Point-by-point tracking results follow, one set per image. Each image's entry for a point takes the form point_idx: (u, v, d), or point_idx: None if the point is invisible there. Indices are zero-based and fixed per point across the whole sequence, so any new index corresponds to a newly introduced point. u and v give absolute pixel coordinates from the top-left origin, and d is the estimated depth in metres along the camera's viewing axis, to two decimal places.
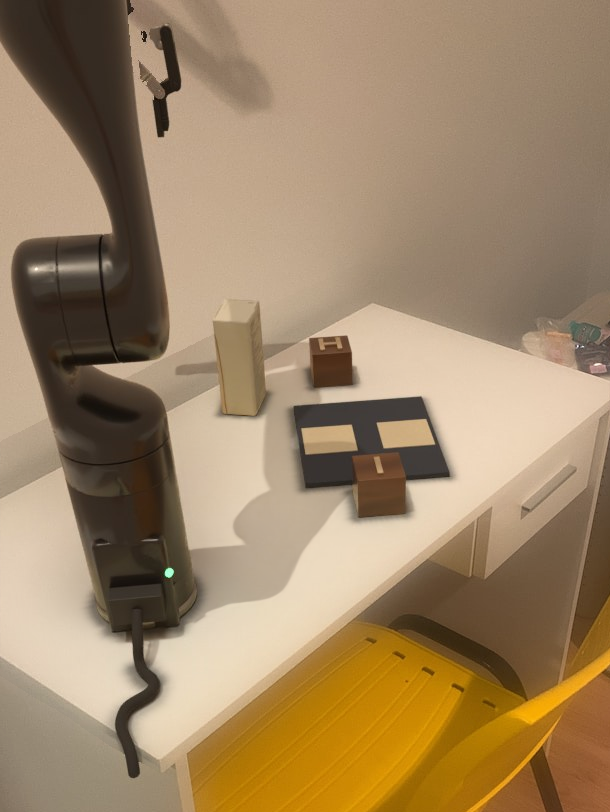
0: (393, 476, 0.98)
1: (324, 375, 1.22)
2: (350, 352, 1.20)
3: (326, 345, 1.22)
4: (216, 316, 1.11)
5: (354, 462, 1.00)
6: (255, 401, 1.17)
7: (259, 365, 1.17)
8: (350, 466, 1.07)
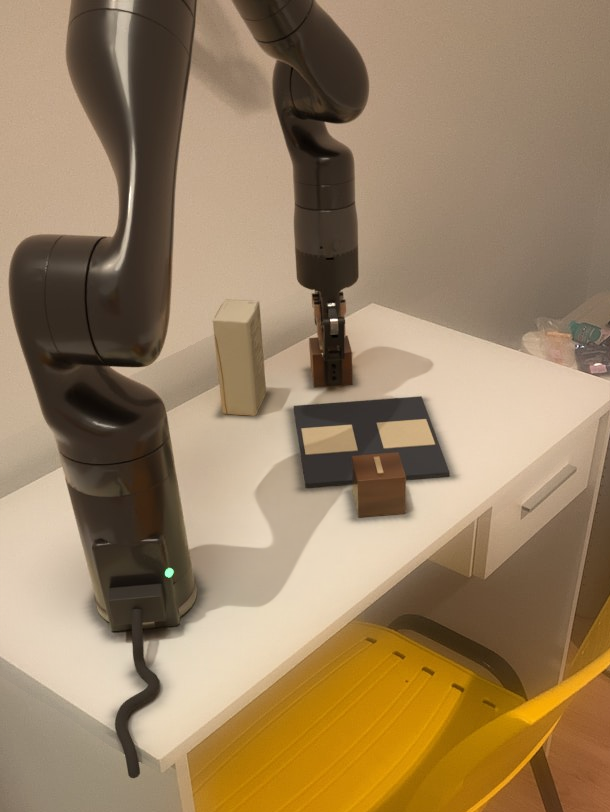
0: (393, 476, 0.98)
1: None
2: (350, 352, 1.20)
3: None
4: (216, 316, 1.11)
5: (354, 462, 1.00)
6: (255, 401, 1.17)
7: (259, 365, 1.17)
8: (350, 466, 1.07)
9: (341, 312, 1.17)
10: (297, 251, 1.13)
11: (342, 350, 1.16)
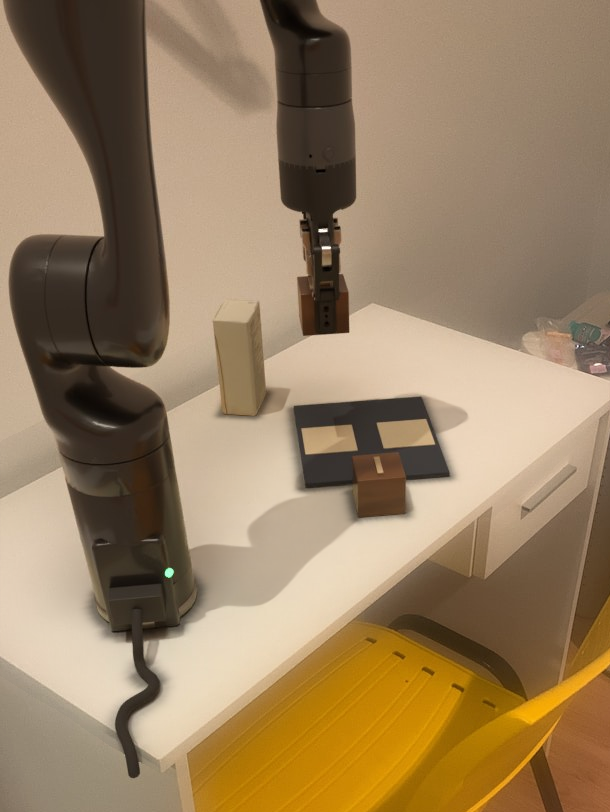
0: (393, 476, 0.98)
1: None
2: (346, 292, 0.99)
3: None
4: (216, 316, 1.11)
5: (354, 462, 1.00)
6: (255, 401, 1.17)
7: (259, 365, 1.17)
8: (350, 466, 1.07)
9: (335, 241, 0.96)
10: (281, 163, 0.92)
11: (336, 287, 0.95)
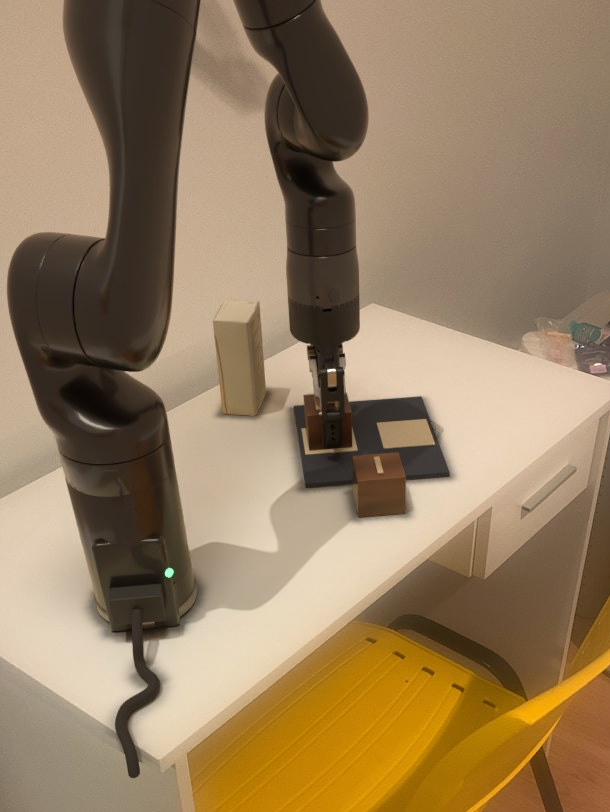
0: (393, 476, 0.98)
1: (320, 437, 1.09)
2: (349, 412, 1.07)
3: None
4: (216, 316, 1.11)
5: (354, 462, 1.00)
6: (255, 401, 1.17)
7: (259, 365, 1.17)
8: (350, 466, 1.07)
9: (340, 366, 1.03)
10: (290, 301, 0.99)
11: (342, 407, 1.01)
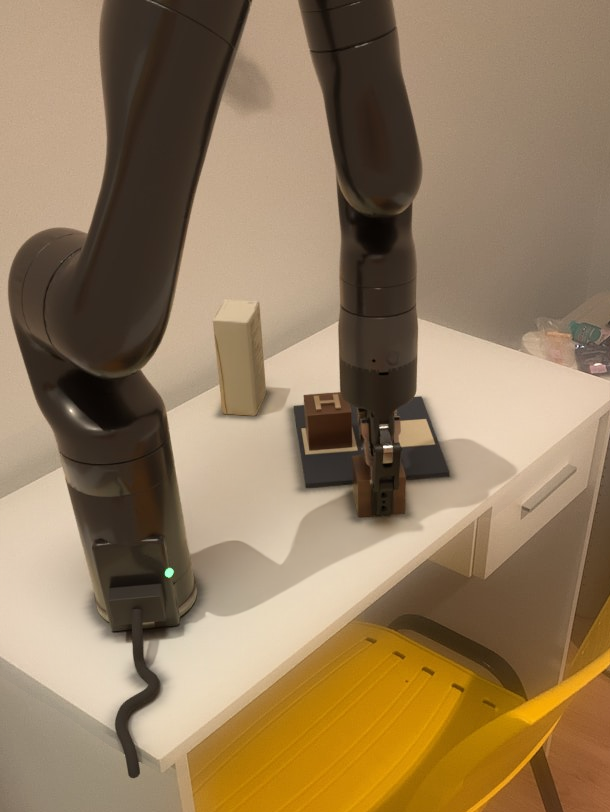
0: None
1: (320, 437, 1.09)
2: (349, 412, 1.07)
3: (323, 403, 1.08)
4: (216, 316, 1.11)
5: (354, 462, 1.00)
6: (255, 401, 1.17)
7: (259, 365, 1.17)
8: (350, 466, 1.07)
9: (394, 432, 0.95)
10: (342, 362, 0.90)
11: (396, 480, 0.94)
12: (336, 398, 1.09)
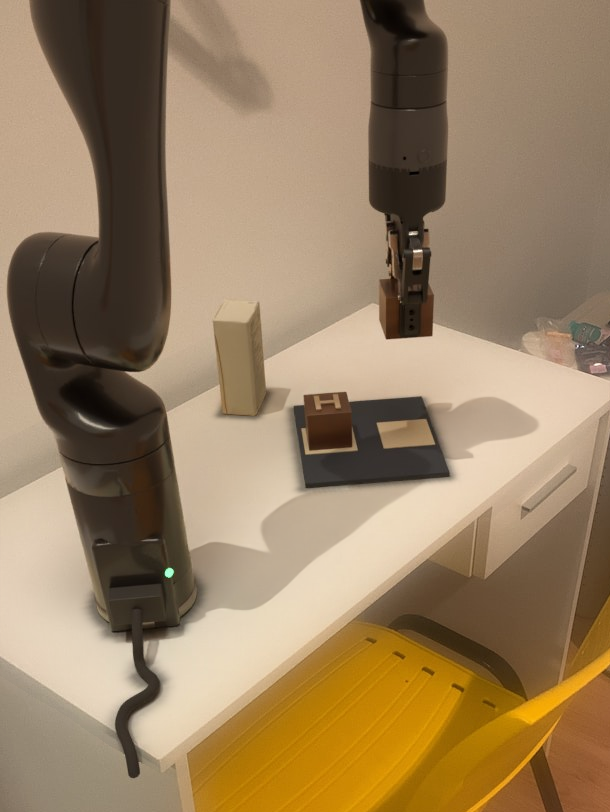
0: None
1: (320, 437, 1.09)
2: (349, 412, 1.07)
3: (323, 403, 1.08)
4: (216, 316, 1.11)
5: (381, 284, 1.01)
6: (255, 401, 1.17)
7: (259, 365, 1.17)
8: (350, 466, 1.07)
9: (423, 244, 0.95)
10: (372, 165, 0.91)
11: (425, 290, 0.94)
12: (336, 398, 1.09)
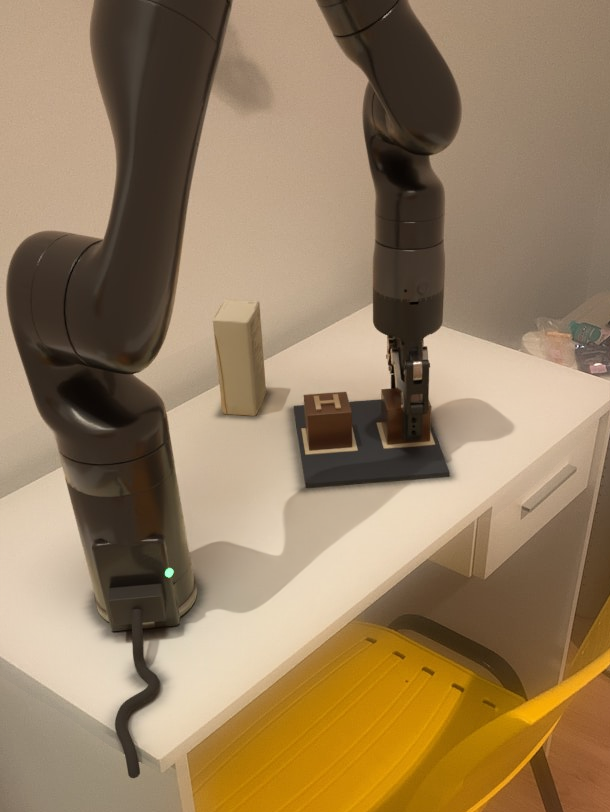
0: None
1: (320, 437, 1.09)
2: (349, 412, 1.07)
3: (323, 403, 1.08)
4: (216, 316, 1.11)
5: (383, 394, 1.10)
6: (255, 401, 1.17)
7: (259, 365, 1.17)
8: (350, 466, 1.07)
9: (422, 359, 1.04)
10: (376, 294, 1.00)
11: (426, 400, 1.02)
12: (336, 398, 1.09)
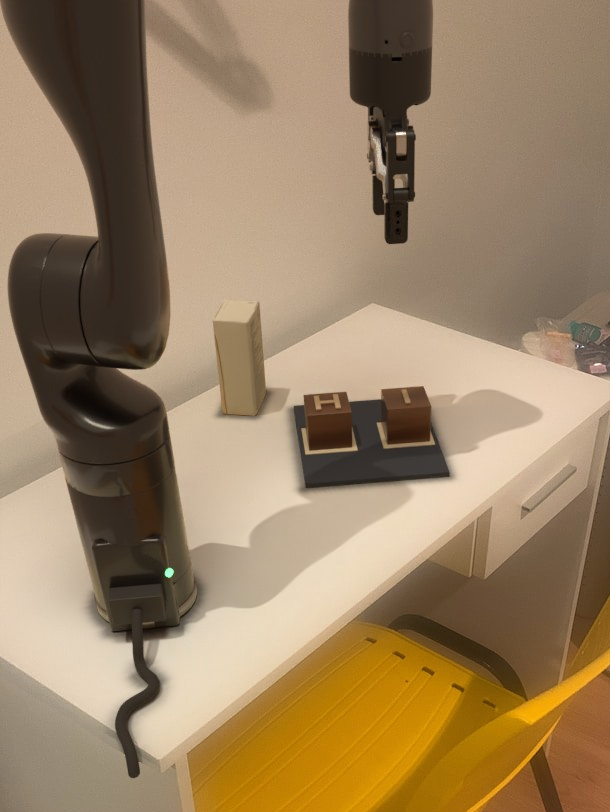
0: (419, 405, 1.08)
1: (320, 437, 1.09)
2: (349, 412, 1.07)
3: (323, 403, 1.08)
4: (216, 316, 1.11)
5: (383, 394, 1.10)
6: (255, 401, 1.17)
7: (259, 365, 1.17)
8: (350, 466, 1.07)
9: None
10: (352, 52, 0.85)
11: (411, 182, 0.87)
12: (336, 398, 1.09)
